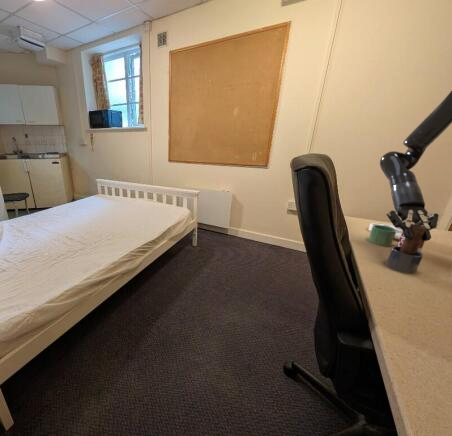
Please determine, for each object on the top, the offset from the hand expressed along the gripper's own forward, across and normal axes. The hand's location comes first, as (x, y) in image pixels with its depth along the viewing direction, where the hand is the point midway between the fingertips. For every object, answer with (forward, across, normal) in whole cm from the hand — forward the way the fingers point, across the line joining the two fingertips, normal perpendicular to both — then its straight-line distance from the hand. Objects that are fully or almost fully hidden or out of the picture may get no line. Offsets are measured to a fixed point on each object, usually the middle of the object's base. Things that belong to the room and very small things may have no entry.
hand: (418, 239), depth 75 cm
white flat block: (-17, +15, +35) cm, 42 cm away
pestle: (+4, 0, +6) cm, 7 cm away
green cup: (-9, +5, +27) cm, 29 cm away
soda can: (-3, +10, +21) cm, 23 cm away
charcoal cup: (+8, 0, +10) cm, 13 cm away
